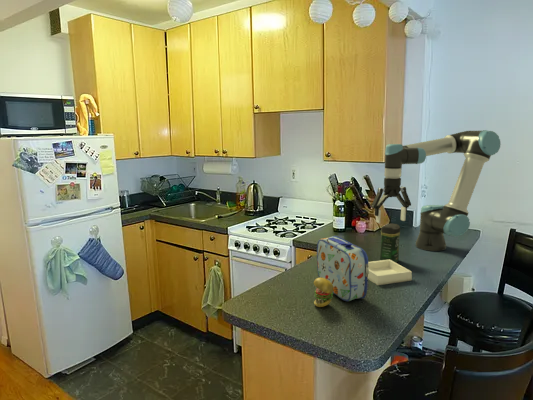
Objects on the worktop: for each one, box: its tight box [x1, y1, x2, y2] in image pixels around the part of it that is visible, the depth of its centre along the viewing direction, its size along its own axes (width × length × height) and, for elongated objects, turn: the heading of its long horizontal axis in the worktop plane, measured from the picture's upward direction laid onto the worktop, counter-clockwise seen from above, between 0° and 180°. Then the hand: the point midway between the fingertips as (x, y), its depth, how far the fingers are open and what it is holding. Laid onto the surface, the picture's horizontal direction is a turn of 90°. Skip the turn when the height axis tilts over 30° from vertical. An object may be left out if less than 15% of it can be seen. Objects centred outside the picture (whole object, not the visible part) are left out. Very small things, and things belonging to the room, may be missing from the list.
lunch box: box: [316, 235, 370, 302], centre depth 150 cm, size 28×10×22 cm, turn 22°
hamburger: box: [313, 277, 334, 308], centre depth 139 cm, size 8×7×12 cm
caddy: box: [367, 259, 413, 286], centre depth 167 cm, size 16×16×4 cm
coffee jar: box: [379, 222, 401, 263], centre depth 184 cm, size 10×8×19 cm
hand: (390, 221), depth 182 cm, fingers open, 13 cm apart
